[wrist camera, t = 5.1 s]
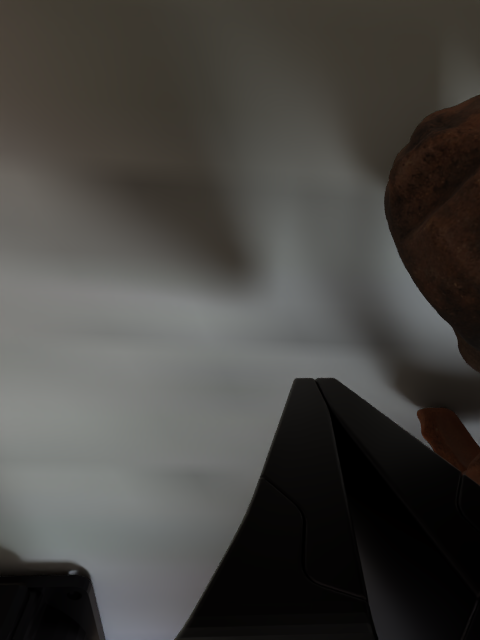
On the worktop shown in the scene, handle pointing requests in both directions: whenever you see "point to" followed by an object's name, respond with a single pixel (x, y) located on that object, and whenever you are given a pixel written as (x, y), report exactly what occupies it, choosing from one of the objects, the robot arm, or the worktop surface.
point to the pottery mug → (443, 247)
